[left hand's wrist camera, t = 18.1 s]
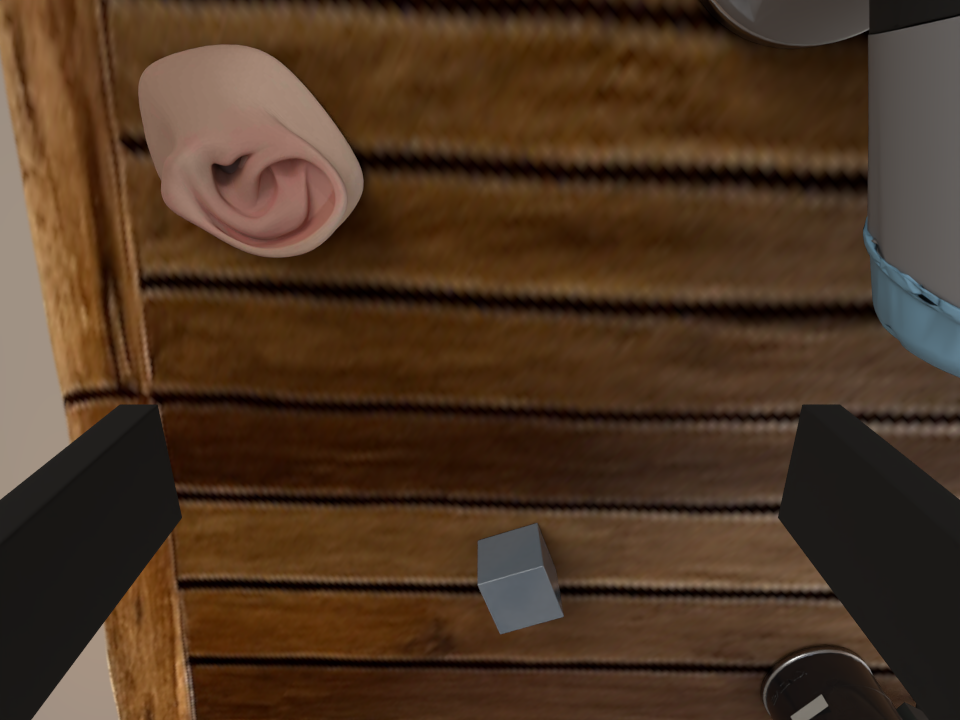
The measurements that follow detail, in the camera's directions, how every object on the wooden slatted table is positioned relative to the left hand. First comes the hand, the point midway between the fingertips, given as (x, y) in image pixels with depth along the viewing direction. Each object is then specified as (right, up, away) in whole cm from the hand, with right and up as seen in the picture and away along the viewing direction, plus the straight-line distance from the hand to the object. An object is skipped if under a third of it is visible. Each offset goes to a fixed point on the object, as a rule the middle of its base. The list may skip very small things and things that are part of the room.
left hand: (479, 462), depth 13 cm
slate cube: (+3, -14, +36) cm, 39 cm away
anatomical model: (-14, +15, +25) cm, 32 cm away
